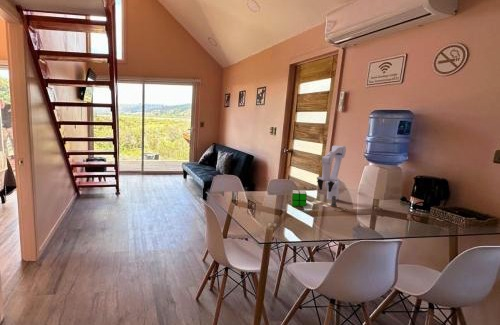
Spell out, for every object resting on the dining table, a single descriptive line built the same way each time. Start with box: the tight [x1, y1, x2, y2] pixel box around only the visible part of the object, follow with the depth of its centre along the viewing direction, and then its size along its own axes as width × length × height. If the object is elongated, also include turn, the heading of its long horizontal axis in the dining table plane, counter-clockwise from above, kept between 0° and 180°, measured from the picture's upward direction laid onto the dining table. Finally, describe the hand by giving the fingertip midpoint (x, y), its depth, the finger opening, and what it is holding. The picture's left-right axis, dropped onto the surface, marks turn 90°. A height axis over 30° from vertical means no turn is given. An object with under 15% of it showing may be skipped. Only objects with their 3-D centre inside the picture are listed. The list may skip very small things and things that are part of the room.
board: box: [309, 200, 348, 212], centre depth 216 cm, size 10×25×1 cm, turn 43°
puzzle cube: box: [291, 189, 307, 208], centre depth 218 cm, size 10×10×10 cm
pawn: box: [330, 196, 338, 208], centre depth 212 cm, size 4×4×8 cm
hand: (325, 190), depth 220 cm, fingers open, 7 cm apart
